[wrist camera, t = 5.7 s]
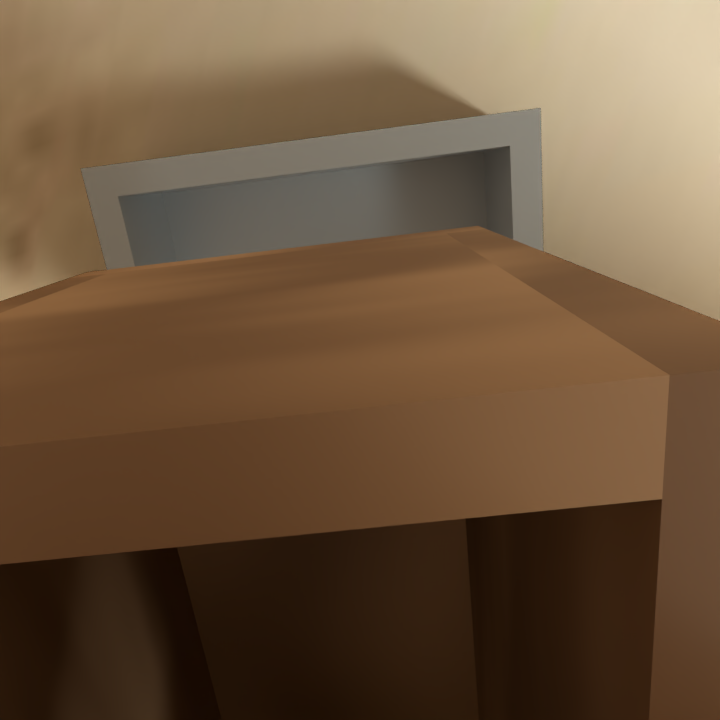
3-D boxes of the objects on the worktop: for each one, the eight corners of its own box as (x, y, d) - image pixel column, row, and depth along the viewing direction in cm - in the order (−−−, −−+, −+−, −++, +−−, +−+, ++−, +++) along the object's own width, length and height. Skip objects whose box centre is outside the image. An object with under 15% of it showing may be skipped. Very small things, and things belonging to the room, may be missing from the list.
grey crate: (503, 123, 22) (540, 107, 17) (516, 474, 27) (549, 536, 22) (139, 171, 23) (80, 168, 18) (216, 505, 28) (186, 571, 23)
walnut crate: (478, 225, 9) (814, 360, 2) (502, 728, 12) (668, 1369, 6) (86, 272, 9) (-633, 514, 3) (216, 752, 13) (53, 1395, 6)
